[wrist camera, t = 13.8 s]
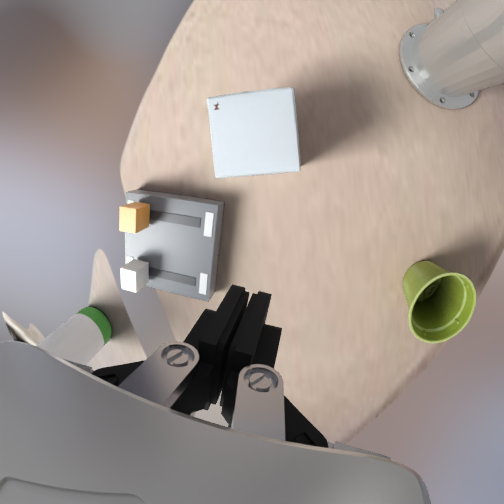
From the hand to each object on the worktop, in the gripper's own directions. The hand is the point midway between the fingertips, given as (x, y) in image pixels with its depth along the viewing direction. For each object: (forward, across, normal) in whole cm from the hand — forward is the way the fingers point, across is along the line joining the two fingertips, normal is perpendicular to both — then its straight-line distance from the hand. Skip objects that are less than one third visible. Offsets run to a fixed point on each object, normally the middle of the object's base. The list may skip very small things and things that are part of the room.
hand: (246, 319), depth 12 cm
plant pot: (+26, -20, +6) cm, 34 cm away
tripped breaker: (+22, +18, +4) cm, 29 cm away
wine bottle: (+24, +30, +28) cm, 47 cm away
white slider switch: (+21, +18, +12) cm, 30 cm away
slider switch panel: (+25, +15, +8) cm, 30 cm away
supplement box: (+26, +4, -7) cm, 28 cm away
